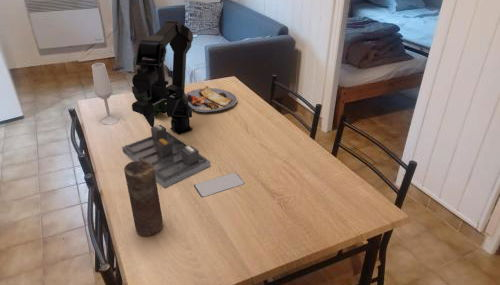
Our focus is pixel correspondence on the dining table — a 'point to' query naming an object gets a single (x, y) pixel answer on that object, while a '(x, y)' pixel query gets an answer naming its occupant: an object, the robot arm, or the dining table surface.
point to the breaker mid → (164, 147)
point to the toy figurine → (155, 105)
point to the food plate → (210, 99)
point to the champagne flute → (103, 88)
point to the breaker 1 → (158, 132)
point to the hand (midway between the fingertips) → (161, 121)
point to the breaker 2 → (190, 155)
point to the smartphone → (218, 184)
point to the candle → (144, 197)
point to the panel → (165, 160)
